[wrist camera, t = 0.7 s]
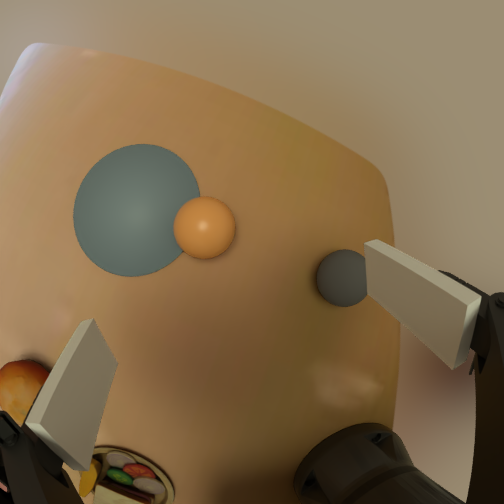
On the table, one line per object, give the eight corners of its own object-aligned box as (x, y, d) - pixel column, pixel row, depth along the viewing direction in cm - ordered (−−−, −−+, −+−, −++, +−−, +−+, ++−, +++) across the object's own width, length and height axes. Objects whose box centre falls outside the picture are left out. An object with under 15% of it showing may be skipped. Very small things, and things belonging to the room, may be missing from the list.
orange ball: (243, 242, 28) (250, 233, 23) (194, 271, 27) (190, 269, 22) (215, 195, 28) (216, 176, 23) (167, 222, 27) (157, 209, 22)
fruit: (13, 330, 22) (0, 371, 16) (67, 364, 27) (69, 409, 20) (-5, 374, 21) (-15, 417, 14) (45, 402, 25) (46, 447, 19)
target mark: (226, 230, 28) (226, 230, 28) (108, 301, 26) (107, 301, 26) (163, 124, 28) (163, 123, 28) (58, 188, 26) (58, 188, 26)
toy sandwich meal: (190, 473, 25) (188, 497, 20) (154, 523, 23) (150, 544, 19) (93, 425, 24) (79, 444, 20) (72, 483, 22) (61, 501, 18)
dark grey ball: (363, 286, 30) (392, 286, 24) (324, 314, 29) (348, 321, 23) (340, 242, 30) (365, 235, 24) (299, 269, 29) (318, 267, 23)
